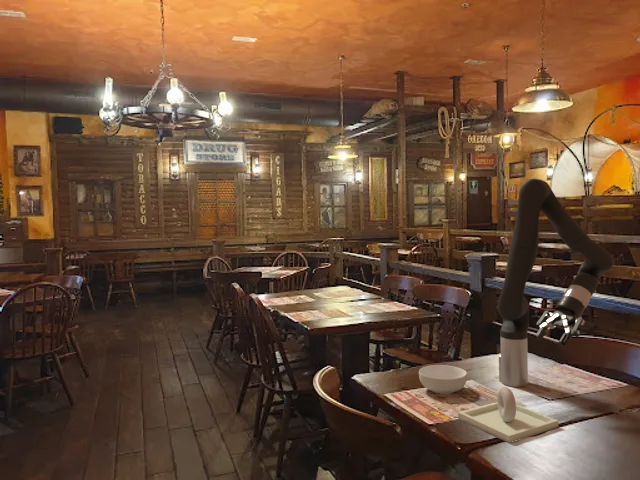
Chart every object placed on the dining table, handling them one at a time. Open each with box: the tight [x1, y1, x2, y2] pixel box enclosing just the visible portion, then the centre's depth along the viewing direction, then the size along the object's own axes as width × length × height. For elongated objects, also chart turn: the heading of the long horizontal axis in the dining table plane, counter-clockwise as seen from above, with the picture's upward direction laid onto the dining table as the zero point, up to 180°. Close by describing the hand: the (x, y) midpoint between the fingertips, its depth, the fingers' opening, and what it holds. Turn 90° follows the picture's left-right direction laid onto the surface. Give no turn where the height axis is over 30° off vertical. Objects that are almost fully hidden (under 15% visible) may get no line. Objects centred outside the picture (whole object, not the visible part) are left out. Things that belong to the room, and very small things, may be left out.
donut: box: [496, 386, 517, 422], centre depth 153 cm, size 10×4×10 cm, turn 177°
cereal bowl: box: [418, 364, 468, 395], centre depth 183 cm, size 17×17×7 cm
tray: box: [457, 401, 559, 444], centre depth 153 cm, size 20×20×2 cm
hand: (549, 341), depth 160 cm, fingers open, 8 cm apart
